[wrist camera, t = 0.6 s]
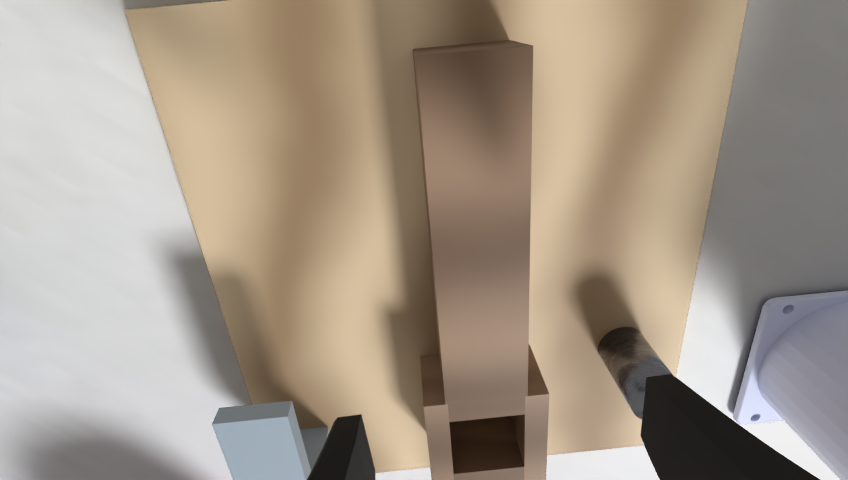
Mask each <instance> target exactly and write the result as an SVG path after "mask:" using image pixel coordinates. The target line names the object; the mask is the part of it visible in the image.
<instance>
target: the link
mask: <svg viewBox="0 0 848 480" xmlns="http://www.w3.org/2000/svg"><path fill="white" fill-rule="evenodd" d="M412 50H413V61H414V73H415V84H416V95H417V107H418V118H419V130H420V141H421V153H422V164H423V175H424V187H425V198H426V210H427V221H428V233H429V244H430V255H431V267H432V278H433V290H434V301H435V313H436V324H437V335H438V347H439V354H434V355H424V356H420V362H421V377H422V391H423V406H424V415H425V424H426V433H427V442H428V451H429V460H430V469H431V478H432V480H546V464H547V440H548V416H549V392H548V389H547V387H546V384H545V382H544V379H543V377H542V374H541V372H540V369H539V367H538V364H537V362H536V359H535V357H534V354H533V352H532V349H531V347H530V345H529V284H530V222H531V159H532V97H533V45H529V44H524V43H520V42H516V41H512V40H503V41H492V42H481V43H471V44H460V45H449V46H439V47H428V48H417V49H412Z"/></svg>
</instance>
